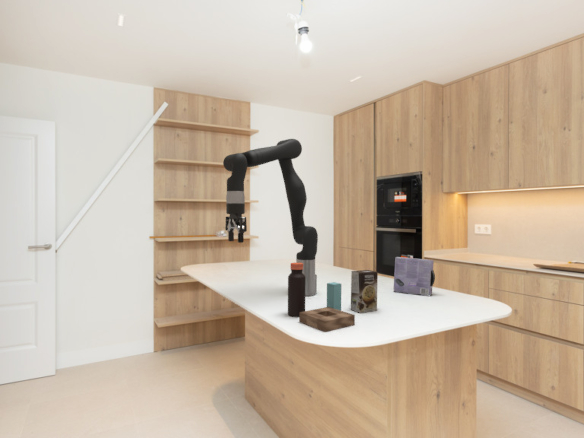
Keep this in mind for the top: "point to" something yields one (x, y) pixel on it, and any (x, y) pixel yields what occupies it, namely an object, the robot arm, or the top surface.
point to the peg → (334, 295)
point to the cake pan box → (413, 276)
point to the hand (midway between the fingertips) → (235, 241)
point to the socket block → (326, 318)
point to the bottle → (296, 290)
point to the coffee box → (364, 290)
